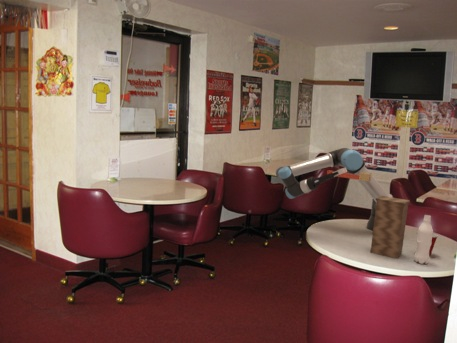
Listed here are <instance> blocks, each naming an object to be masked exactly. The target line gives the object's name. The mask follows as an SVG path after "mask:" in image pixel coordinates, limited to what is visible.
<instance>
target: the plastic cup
mask: <svg viewBox="0 0 457 343" xmlns="http://www.w3.org/2000/svg"><path fill="white" fill-rule="evenodd" d="M416 234H417V236H418V231H417V232H416ZM438 237H439V235H438V234H435V233H433V235H432V244H431V246H430V250H429V257H431V256H432V252H433V249H434V246H435V244H436V241H437V239H438Z"/></svg>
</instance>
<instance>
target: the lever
mask: <svg viewBox="0 0 457 343" xmlns="http://www.w3.org/2000/svg"><path fill="white" fill-rule="evenodd" d="M335 171H336V170H326V175H327V174H330V173H332V172H335ZM332 174H333V173H332ZM371 174H372V173H371V172H370V173H365V172H361V173H360V175H358V174H351V173H348V172H346V173H343V174H340V175H338V176H337V177H338V178H345V179H352V180H357V181H358V180H362V181H371ZM372 175H373V174H372ZM337 177H336V178H337Z"/></svg>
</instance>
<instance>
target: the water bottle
mask: <svg viewBox="0 0 457 343" xmlns="http://www.w3.org/2000/svg"><path fill="white" fill-rule="evenodd" d="M431 219H432V216H431V215H429V214H424V217H423V221H422V223H421V224H420V226H419V227H418V229H417V232H418V235H417V237H416V240H415V241H416V251H415V253H414V260H415V262H416V263H418V264H420V265H423V264H424V265H427V264H428V263H429V261H430V257H431V256H429V250H430V246H431V244H432V235H433V234H434V230H433V227H432V224H431V221H432V220H431Z"/></svg>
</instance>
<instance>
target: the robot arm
mask: <svg viewBox="0 0 457 343" xmlns="http://www.w3.org/2000/svg"><path fill="white" fill-rule="evenodd" d="M328 167H331V168H334V167H341V168H339V169H338V170H334V171H335V172H332V173H333V174H332V173H330V174H327V173H326V174H325V175H323V176H322V175H320V176H319V177H314V176H311V177H309V178H307V179H303V180H301V181H298V180H297V179H296V177H298V176H300V175H303V174H308V173H310V172H314V171H317V170H321V169H325V168H328ZM361 172H365V173H371V172H370V171H369V170H368V168H367V167H366V161H365V160H364V158H363V156H362V154H361V153H360V152H359V151H357V150H355V149H351V148H348V147H342V148H337V149H335V150H332V151H329V152H327V153H326V154H324V155H320V156H317V157H314V158H311V159H310V158H309V159H307V160H304V161H303V160H302V161H299V162H297V163H293V164H290V165H286V166H279V167H277V168H276V170H275V176H276V178H277V179H279V180H281V182H282V183H283V184H284V186H285V187H286V188H284V189H285V190H284V192H285V195H286V197H287V198H288V199H291V200H292V199H296V198H299V197H300V196H303V195H306V194H310V192H312V191H315V190H318V188H319V185H322V184H323V183H326V182H327V181H329V180H332V179H335V178H337V176H338V175H340V174H343V173H351V174H358V175H360V173H361ZM357 181H358V183H359V184H360V185H361V186H362V187H363V188H364V190H365V191H366V192H367V194H369V196H370V197H371V198H372V203H371V211H370V217H369V218H368V221H367V222H366V228H367V229H369V230H371V231H373V227H374V219H375V211H376V203H377V201H376V198H378V197H380V196H387V197H393V198H395V197H394V196H393V195H392V193H388V192H387V191H386V190H385V189H384V187H383V186H382V185H381V184H380V183H379V181H378V180H377V179H376V177H374V176H373V174H371V181H362V180H357Z"/></svg>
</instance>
